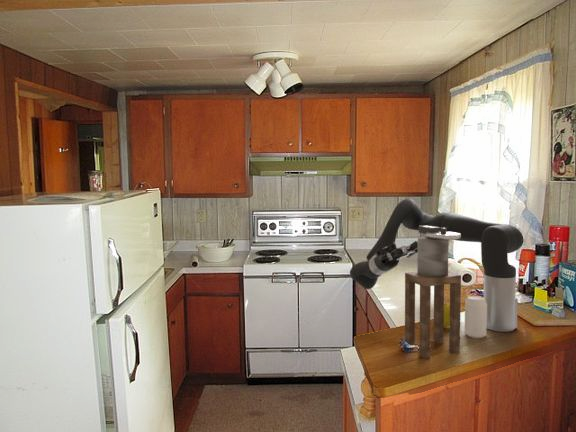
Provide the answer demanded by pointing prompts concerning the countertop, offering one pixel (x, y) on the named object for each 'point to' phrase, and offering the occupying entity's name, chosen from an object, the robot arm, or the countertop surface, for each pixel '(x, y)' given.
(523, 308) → the countertop surface
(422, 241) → the stand
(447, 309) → the lemon
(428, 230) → the cooker lid
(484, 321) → the beverage can
